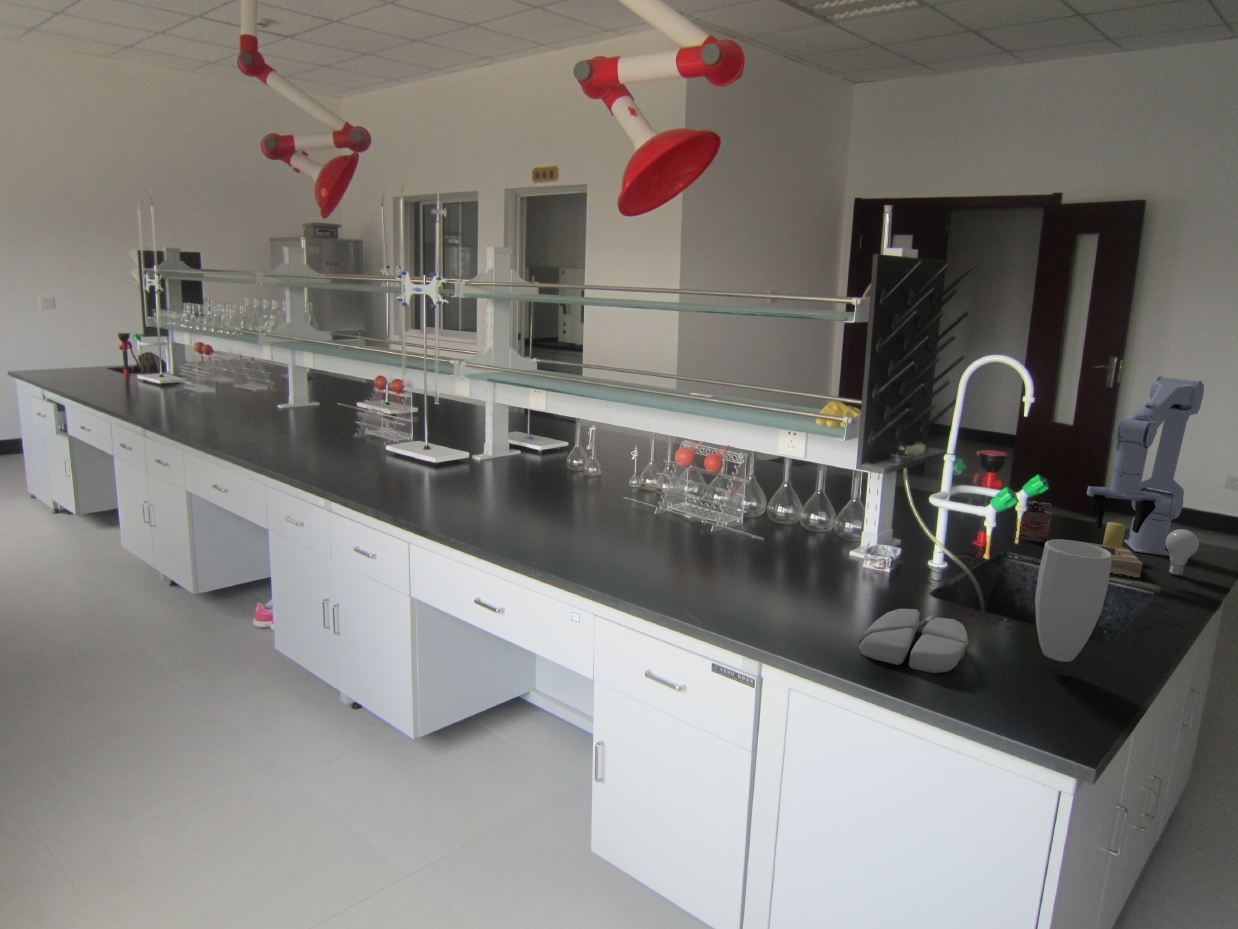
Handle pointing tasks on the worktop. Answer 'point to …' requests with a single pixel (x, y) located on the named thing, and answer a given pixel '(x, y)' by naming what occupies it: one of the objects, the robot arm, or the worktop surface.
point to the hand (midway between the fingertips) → (1116, 529)
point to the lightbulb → (1180, 549)
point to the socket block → (1123, 561)
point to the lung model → (931, 651)
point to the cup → (1069, 596)
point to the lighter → (1035, 522)
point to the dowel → (1114, 534)
